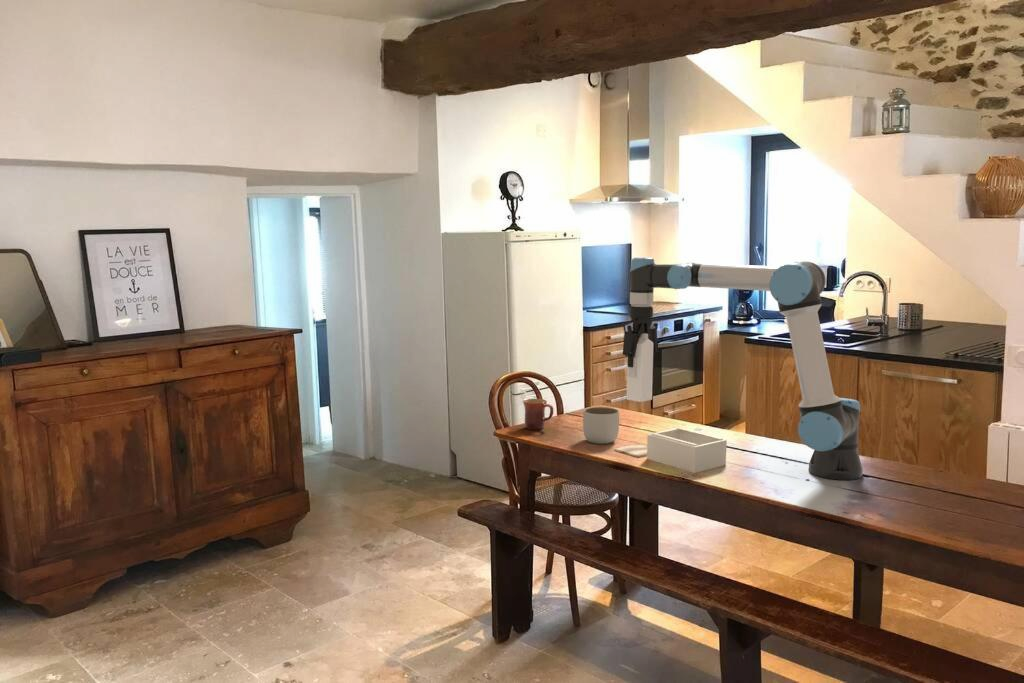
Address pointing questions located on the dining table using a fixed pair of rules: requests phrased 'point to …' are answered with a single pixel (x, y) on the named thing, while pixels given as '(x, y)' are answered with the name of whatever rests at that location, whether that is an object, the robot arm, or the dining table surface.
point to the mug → (536, 413)
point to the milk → (641, 372)
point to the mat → (633, 450)
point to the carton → (686, 449)
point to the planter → (601, 424)
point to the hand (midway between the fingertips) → (639, 375)
